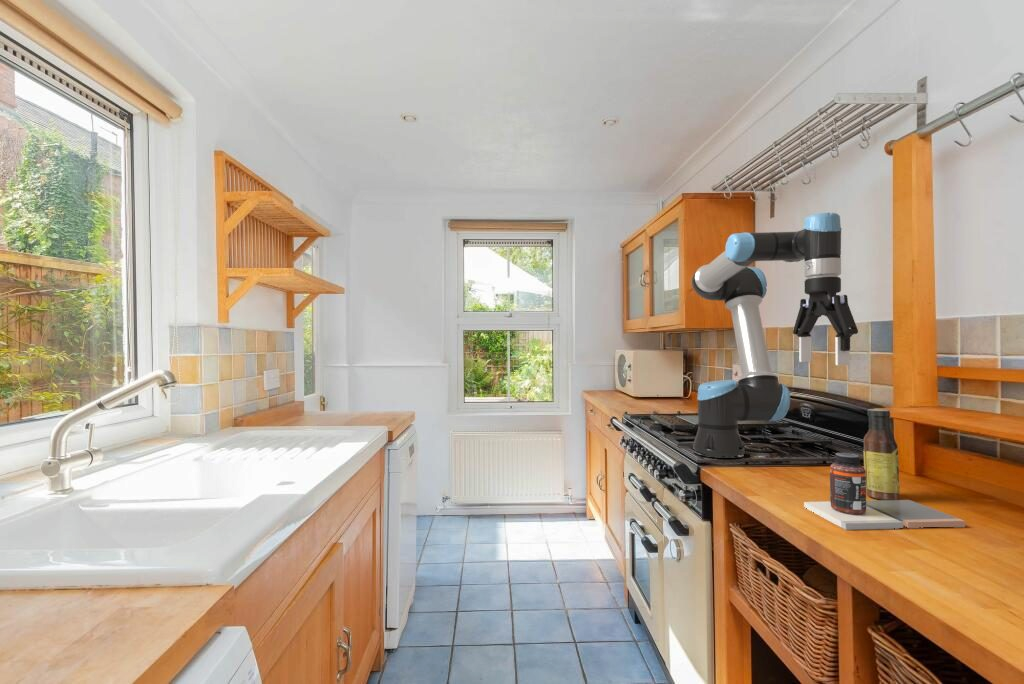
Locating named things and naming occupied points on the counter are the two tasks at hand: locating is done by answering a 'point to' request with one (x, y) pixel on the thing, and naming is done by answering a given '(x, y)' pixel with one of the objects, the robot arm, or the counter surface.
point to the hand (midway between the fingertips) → (822, 363)
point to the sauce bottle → (881, 457)
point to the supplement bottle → (848, 484)
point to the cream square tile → (854, 517)
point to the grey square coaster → (914, 514)
